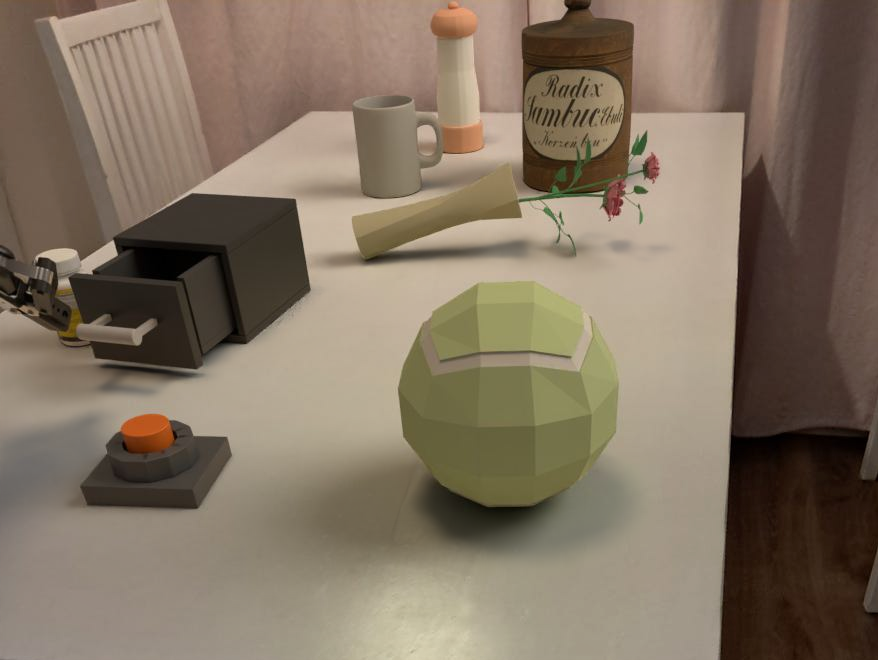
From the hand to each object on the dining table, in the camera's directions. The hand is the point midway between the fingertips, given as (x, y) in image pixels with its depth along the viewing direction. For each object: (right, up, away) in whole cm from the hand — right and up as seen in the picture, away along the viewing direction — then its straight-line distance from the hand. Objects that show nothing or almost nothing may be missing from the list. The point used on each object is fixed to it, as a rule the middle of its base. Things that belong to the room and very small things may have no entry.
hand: (63, 320), depth 77 cm
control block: (+10, -14, -4) cm, 17 cm away
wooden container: (+48, +39, +54) cm, 82 cm away
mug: (+24, +37, +54) cm, 70 cm away
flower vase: (+38, +19, +32) cm, 53 cm away
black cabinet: (+8, +9, +22) cm, 25 cm away
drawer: (+4, +3, +14) cm, 15 cm away
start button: (+9, -12, -6) cm, 16 cm away
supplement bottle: (-6, +4, +19) cm, 20 cm away
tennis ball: (+37, -15, -7) cm, 41 cm away
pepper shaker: (+32, +51, +69) cm, 92 cm away
